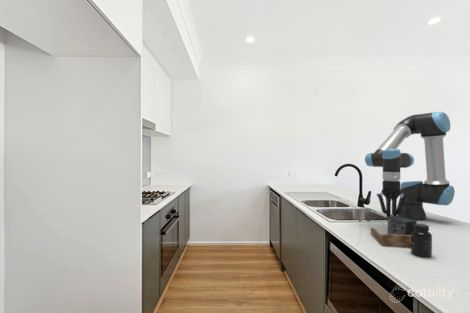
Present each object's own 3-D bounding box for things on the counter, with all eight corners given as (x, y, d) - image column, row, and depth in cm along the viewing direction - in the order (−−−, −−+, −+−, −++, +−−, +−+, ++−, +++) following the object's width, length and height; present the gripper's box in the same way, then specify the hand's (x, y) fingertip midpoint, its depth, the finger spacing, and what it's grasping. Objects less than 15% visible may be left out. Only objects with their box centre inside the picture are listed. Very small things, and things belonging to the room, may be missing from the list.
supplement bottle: (407, 252, 105) (406, 223, 105) (418, 250, 107) (418, 221, 107) (424, 259, 98) (424, 228, 98) (436, 256, 101) (436, 226, 101)
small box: (417, 244, 115) (417, 220, 115) (405, 245, 113) (405, 221, 113) (398, 236, 125) (397, 215, 125) (386, 237, 124) (386, 216, 124)
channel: (410, 236, 126) (410, 226, 126) (428, 249, 109) (428, 237, 109) (370, 233, 130) (370, 224, 130) (382, 245, 113) (382, 234, 113)
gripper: (379, 180, 124) (379, 229, 124) (409, 181, 121) (409, 231, 121) (374, 179, 131) (374, 225, 131) (403, 179, 128) (402, 226, 128)
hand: (391, 228), depth 126 cm, fingers closed
